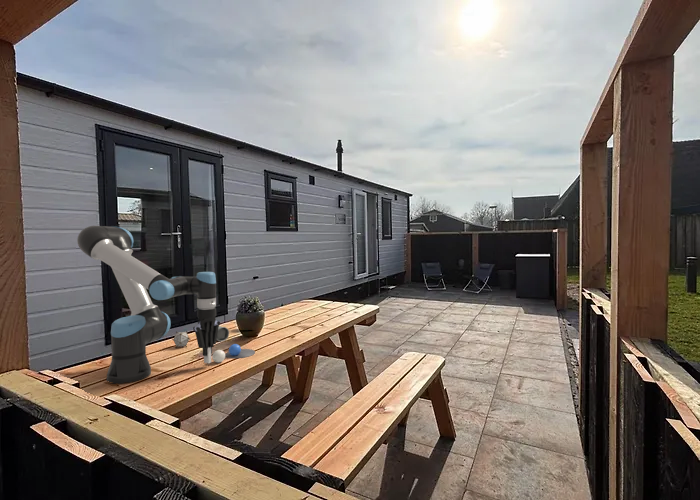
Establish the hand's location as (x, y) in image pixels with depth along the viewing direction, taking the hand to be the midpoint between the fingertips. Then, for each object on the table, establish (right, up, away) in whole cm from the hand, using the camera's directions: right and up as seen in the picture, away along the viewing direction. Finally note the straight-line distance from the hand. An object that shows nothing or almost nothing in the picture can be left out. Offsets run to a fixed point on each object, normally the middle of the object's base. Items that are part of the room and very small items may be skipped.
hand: (207, 362), depth 154 cm
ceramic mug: (-11, -1, +41) cm, 43 cm away
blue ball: (+7, +1, +15) cm, 17 cm away
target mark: (+8, -1, +18) cm, 20 cm away
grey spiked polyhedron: (-25, -2, +30) cm, 39 cm away
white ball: (+3, +1, +6) cm, 7 cm away
